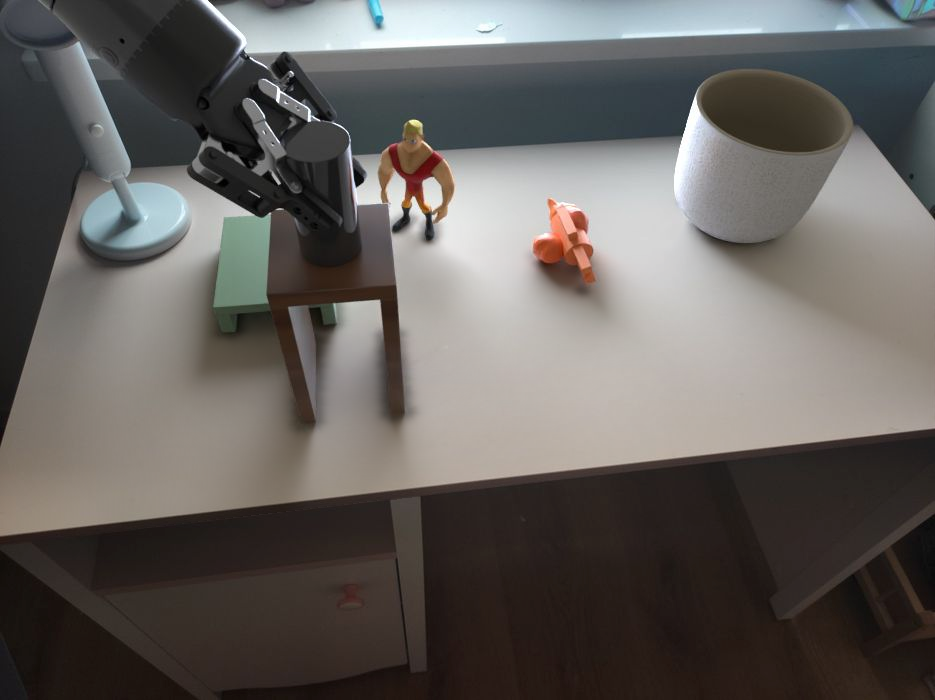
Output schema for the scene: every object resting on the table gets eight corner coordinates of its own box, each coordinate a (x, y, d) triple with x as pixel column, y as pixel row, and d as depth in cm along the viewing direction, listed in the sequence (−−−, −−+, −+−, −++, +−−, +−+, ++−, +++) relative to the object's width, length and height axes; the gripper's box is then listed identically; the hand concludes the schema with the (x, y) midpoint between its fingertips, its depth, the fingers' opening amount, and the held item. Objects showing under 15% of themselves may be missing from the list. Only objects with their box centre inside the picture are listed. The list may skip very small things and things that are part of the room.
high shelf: (405, 413, 69) (396, 285, 55) (301, 423, 68) (265, 294, 54) (397, 335, 75) (388, 202, 61) (302, 343, 74) (270, 209, 60)
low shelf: (336, 324, 76) (332, 298, 73) (222, 333, 75) (212, 307, 71) (334, 236, 85) (330, 210, 81) (231, 243, 83) (223, 217, 80)
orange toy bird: (609, 251, 76) (574, 183, 83) (543, 276, 77) (515, 205, 84) (614, 281, 80) (581, 212, 87) (552, 303, 81) (524, 234, 88)
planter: (823, 252, 86) (885, 146, 74) (694, 270, 83) (737, 162, 71) (758, 168, 96) (804, 62, 84) (641, 181, 93) (671, 74, 81)
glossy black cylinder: (334, 276, 55) (318, 171, 48) (287, 250, 57) (263, 145, 49) (374, 240, 58) (364, 135, 50) (327, 217, 60) (311, 112, 52)
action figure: (373, 227, 86) (363, 119, 74) (385, 210, 88) (377, 101, 76) (446, 247, 84) (447, 139, 72) (456, 229, 86) (459, 120, 74)
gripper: (117, 49, 39) (345, 249, 47) (230, -54, 48) (406, 129, 56) (69, 118, 44) (284, 289, 52) (180, 13, 53) (349, 172, 61)
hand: (346, 205), depth 54 cm, fingers closed on glossy black cylinder, 5 cm apart
